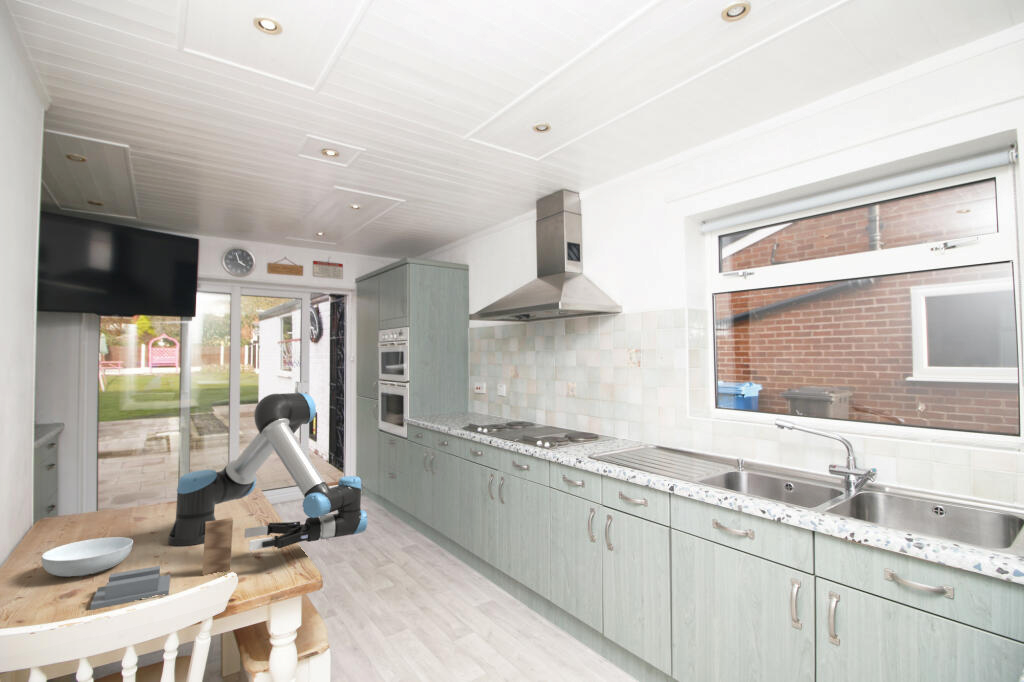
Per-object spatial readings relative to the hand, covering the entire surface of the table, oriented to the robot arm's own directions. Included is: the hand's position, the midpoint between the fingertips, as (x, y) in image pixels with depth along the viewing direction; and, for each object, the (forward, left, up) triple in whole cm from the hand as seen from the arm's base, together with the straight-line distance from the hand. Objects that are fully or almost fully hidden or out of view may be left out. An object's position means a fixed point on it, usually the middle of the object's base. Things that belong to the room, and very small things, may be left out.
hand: (246, 539), depth 150 cm
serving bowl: (-4, -45, -9) cm, 46 cm away
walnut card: (+3, -7, -8) cm, 11 cm away
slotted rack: (+15, -23, -8) cm, 29 cm away
